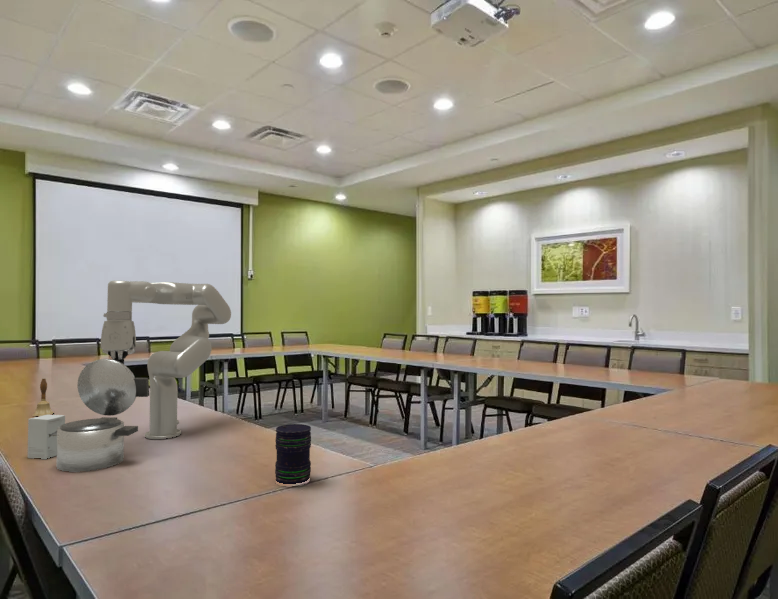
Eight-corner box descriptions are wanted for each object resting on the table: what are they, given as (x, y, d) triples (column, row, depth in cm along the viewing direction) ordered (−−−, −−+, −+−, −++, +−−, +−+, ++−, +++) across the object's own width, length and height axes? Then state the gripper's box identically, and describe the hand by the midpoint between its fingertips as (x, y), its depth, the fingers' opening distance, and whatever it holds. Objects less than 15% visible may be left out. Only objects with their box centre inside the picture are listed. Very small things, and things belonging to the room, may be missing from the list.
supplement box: (46, 459, 163) (47, 419, 163) (26, 458, 165) (27, 418, 165) (65, 453, 170) (66, 414, 171) (46, 452, 172) (46, 413, 172)
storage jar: (316, 477, 148) (317, 425, 148) (300, 489, 139) (300, 433, 139) (286, 474, 152) (286, 422, 152) (267, 484, 142) (268, 430, 142)
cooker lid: (80, 415, 171) (87, 410, 175) (148, 415, 170) (154, 411, 175) (74, 359, 168) (82, 356, 172) (144, 360, 167) (150, 356, 172)
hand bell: (27, 416, 226) (27, 379, 226) (44, 412, 234) (45, 377, 234) (41, 417, 224) (42, 380, 224) (59, 413, 231) (59, 378, 232)
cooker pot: (81, 453, 171) (82, 416, 171) (148, 453, 171) (148, 417, 171) (42, 471, 152) (43, 430, 152) (117, 472, 151) (118, 431, 152)
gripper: (91, 316, 173) (90, 371, 173) (136, 317, 173) (134, 372, 173) (103, 316, 181) (102, 369, 180) (146, 317, 181) (145, 369, 180)
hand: (118, 370), depth 176 cm, fingers closed
